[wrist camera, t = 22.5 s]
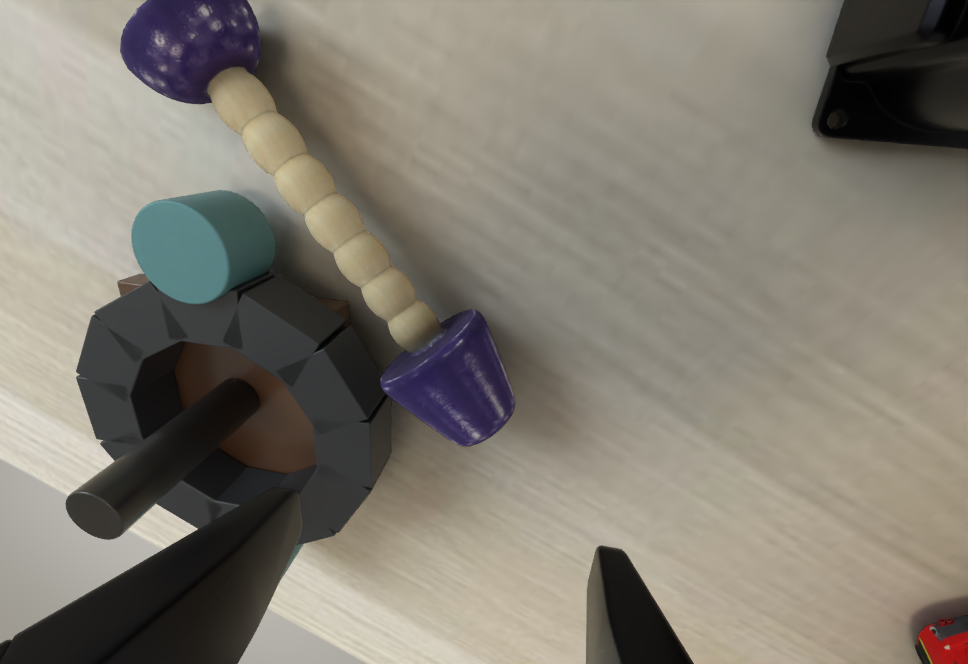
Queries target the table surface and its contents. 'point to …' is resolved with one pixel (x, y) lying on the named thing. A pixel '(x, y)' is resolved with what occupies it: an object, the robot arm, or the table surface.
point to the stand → (201, 433)
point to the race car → (944, 642)
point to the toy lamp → (323, 211)
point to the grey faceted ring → (253, 333)
